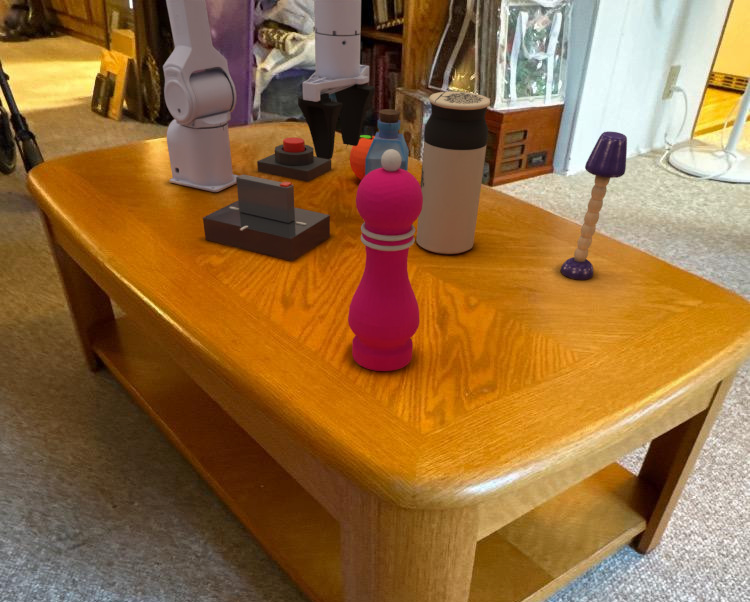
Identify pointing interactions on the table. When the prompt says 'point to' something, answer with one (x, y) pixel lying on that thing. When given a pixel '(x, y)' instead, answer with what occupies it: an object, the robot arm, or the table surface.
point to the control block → (294, 164)
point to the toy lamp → (597, 197)
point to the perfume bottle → (387, 141)
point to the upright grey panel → (266, 198)
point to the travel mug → (452, 171)
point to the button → (294, 144)
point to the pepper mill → (386, 267)
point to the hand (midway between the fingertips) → (337, 151)
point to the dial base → (267, 231)
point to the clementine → (360, 155)
